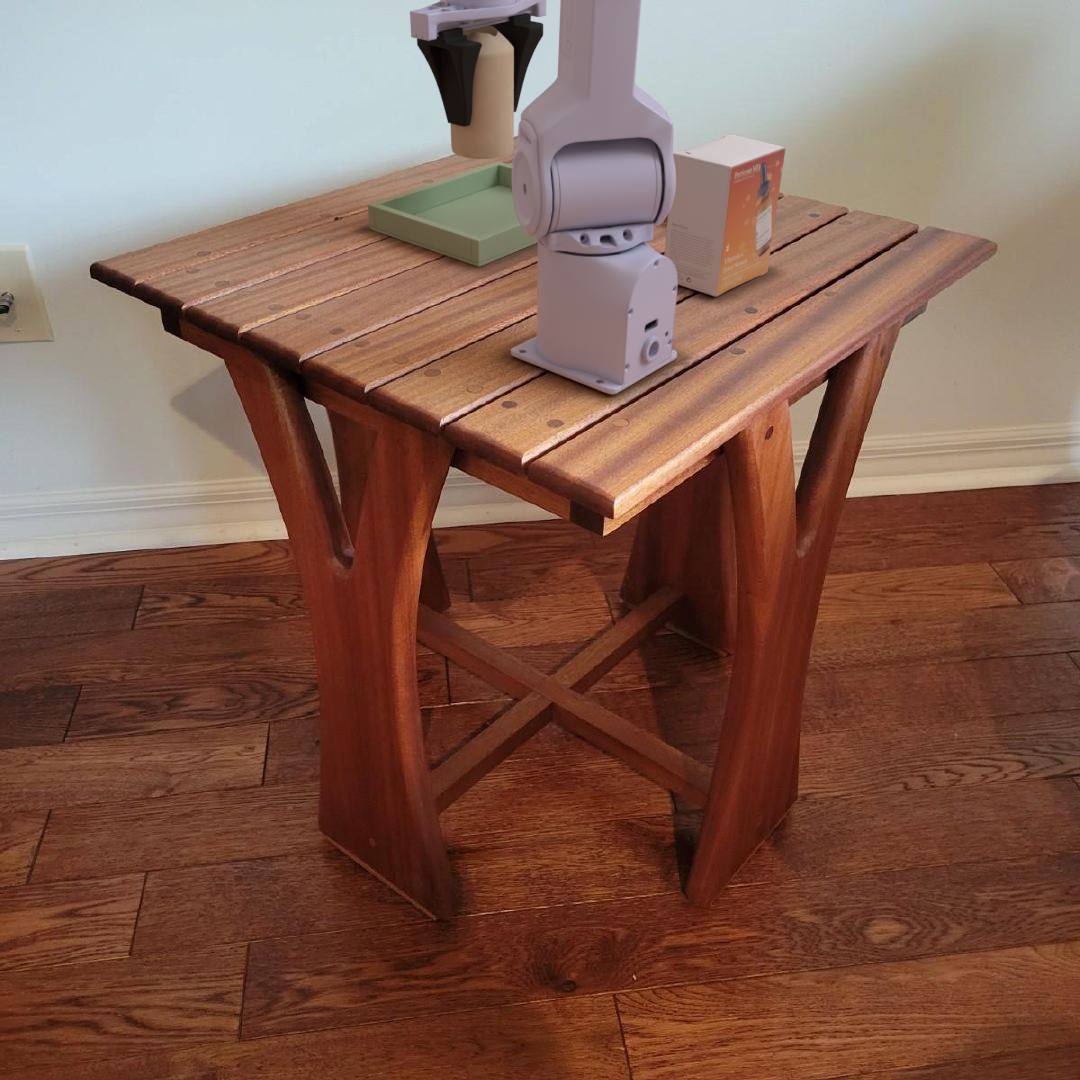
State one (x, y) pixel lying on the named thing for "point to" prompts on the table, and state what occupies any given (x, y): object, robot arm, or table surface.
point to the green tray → (457, 216)
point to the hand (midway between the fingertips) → (483, 117)
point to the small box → (723, 212)
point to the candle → (489, 100)
